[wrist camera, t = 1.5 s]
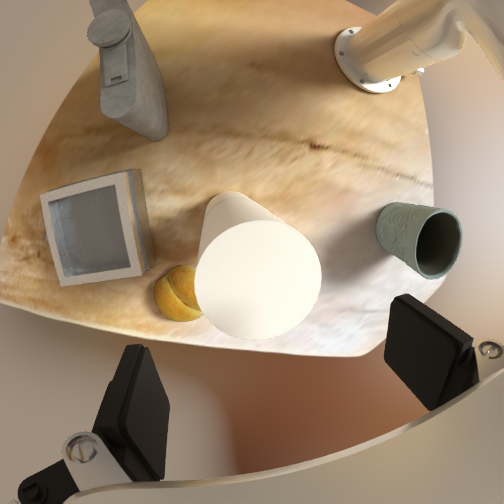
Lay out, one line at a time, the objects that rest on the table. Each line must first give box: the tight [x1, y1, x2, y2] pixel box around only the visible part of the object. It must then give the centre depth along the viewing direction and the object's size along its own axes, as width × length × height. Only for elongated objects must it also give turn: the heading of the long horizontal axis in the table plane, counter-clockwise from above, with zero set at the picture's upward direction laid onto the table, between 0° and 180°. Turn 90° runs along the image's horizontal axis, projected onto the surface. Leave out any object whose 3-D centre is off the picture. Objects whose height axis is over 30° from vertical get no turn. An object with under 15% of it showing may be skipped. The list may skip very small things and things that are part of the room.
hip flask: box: [87, 0, 168, 141], centre depth 23 cm, size 16×4×20 cm, turn 14°
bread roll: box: [154, 265, 203, 322], centre depth 40 cm, size 8×9×4 cm
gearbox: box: [40, 169, 156, 287], centre depth 33 cm, size 16×13×8 cm
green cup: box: [376, 202, 462, 279], centre depth 38 cm, size 10×10×12 cm
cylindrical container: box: [194, 191, 322, 340], centre depth 27 cm, size 7×7×25 cm
